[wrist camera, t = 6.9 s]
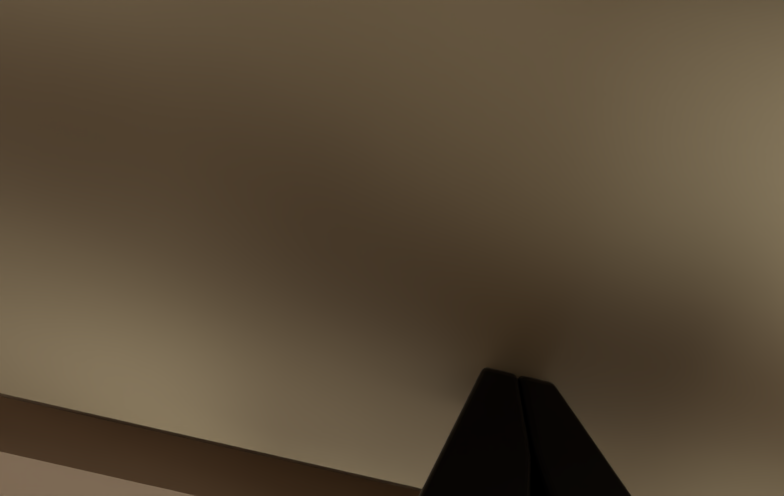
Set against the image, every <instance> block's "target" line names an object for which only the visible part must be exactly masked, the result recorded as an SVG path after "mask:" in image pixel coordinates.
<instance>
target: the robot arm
mask: <svg viewBox="0 0 784 496" xmlns="http://www.w3.org/2000/svg"><path fill="white" fill-rule="evenodd" d="M419 496H631V494H630V493H629V491H628V490H627V489H626V487H625V486H624V484H623V483H622V481H621V480H620V478H619V477H618V476H617V474H616V473H615V471H614V470H613V468H612V467H611V465H610V464H609V463H608V461H607V460H606V458H605V457H604V455H603V454H602V452H601V451H600V450H599V448H598V447H597V445H596V444H595V442H594V441H593V439H592V438H591V437H590V435H589V434H588V432H587V431H586V429H585V428H584V426H583V425H582V424H581V422H580V421H579V419H578V418H577V416H576V415H575V413H574V412H573V411H572V409H571V408H570V406H569V405H568V403H567V402H566V400H565V399H564V397H563V396H562V395H561V393H560V392H559V390H558V389H557V387H556V386H555V385H554V384H552V383H551V382H548V381H545V380H540V379H536V378H532V377H527V376H521V377H518V378H517V377H516V376H515V375H514V374H513V373H510V372H506V371H501V370H497V369H493V368H488V367H486V368H483V369H482V370H481V372H480V374H479V376H478V378H477V380H476V382H475V384H474V386H473V388H472V390H471V392H470V394H469V396H468V398H467V400H466V402H465V404H464V406H463V408H462V410H461V412H460V414H459V416H458V418H457V420H456V422H455V424H454V426H453V428H452V430H451V432H450V434H449V436H448V438H447V440H446V442H445V444H444V446H443V448H442V450H441V452H440V454H439V456H438V458H437V460H436V462H435V464H434V466H433V468H432V470H431V472H430V474H429V476H428V478H427V480H426V482H425V484H424V486H423V488H422V490H421V492H420V494H419Z"/></svg>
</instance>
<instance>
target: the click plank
mask: <svg viewBox="0 0 784 496" xmlns="http://www.w3.org/2000/svg"><path fill="white" fill-rule="evenodd" d="M486 367H488V368H493V369H497V370H501V371H506V372H510V373H513V374H514V375H515V376H516V377H517V378H518V377H521V376H527V377H532V378H536V379H540V380H545V381H548V382H551V383H552V384H554V385H555V386H556V387H557V389H558V390H559V392H560V393H561V395H562V396H563V397H564V399H565V400H566V402H567V403H568V405H569V406H570V408H571V409H572V411H573V412H574V413H575V415H576V416H577V418H578V419H579V421H580V422H581V424H582V425H583V426H584V428H585V429H586V431H587V432H588V434H589V435H590V437H591V438H592V439H593V441H594V442H595V444H596V445H597V447H598V448H599V450H600V451H601V452H602V454H603V455H604V457H605V458H606V460H607V461H608V463H609V464H610V465H611V467H612V468H613V470H614V471H615V473H616V474H617V476H618V477H619V478H620V480H621V481H622V483H623V484H624V486H625V487H626V489H627V490H628V491H629V493H630V494H631V496H784V0H0V393H2V394H6V395H11V396H15V397H20V398H24V399H28V400H33V401H37V402H42V403H46V404H51V405H55V406H59V407H64V408H68V409H73V410H77V411H81V412H86V413H90V414H95V415H99V416H104V417H108V418H112V419H117V420H121V421H126V422H130V423H134V424H139V425H143V426H148V427H152V428H156V429H161V430H165V431H170V432H174V433H179V434H183V435H187V436H192V437H196V438H201V439H205V440H209V441H214V442H218V443H223V444H227V445H232V446H236V447H240V448H245V449H249V450H254V451H258V452H262V453H267V454H271V455H276V456H280V457H284V458H289V459H293V460H298V461H302V462H307V463H311V464H315V465H320V466H324V467H329V468H333V469H337V470H342V471H346V472H351V473H355V474H360V475H364V476H368V477H373V478H377V479H382V480H386V481H390V482H395V483H399V484H404V485H408V486H412V487H417V488H421V489H422V488H423V486H424V484H425V482H426V480H427V478H428V476H429V474H430V472H431V470H432V468H433V466H434V464H435V462H436V460H437V458H438V456H439V454H440V452H441V450H442V448H443V446H444V444H445V442H446V440H447V438H448V436H449V434H450V432H451V430H452V428H453V426H454V424H455V422H456V420H457V418H458V416H459V414H460V412H461V410H462V408H463V406H464V404H465V402H466V400H467V398H468V396H469V394H470V392H471V390H472V388H473V386H474V384H475V382H476V380H477V378H478V376H479V374H480V372H481V370H482V369H483V368H486Z"/></svg>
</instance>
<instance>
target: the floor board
mask: <svg viewBox="0 0 784 496" xmlns="http://www.w3.org/2000/svg"><path fill="white" fill-rule="evenodd" d="M421 490H422V489H421V488H417V487H412V486H408V485H404V484H399V483H395V482H390V481H386V480H382V479H377V478H373V477H368V476H364V475H360V474H355V473H351V472H346V471H342V470H337V469H333V468H329V467H324V466H320V465H315V464H311V463H307V462H302V461H298V460H293V459H289V458H284V457H280V456H276V455H271V454H267V453H262V452H258V451H254V450H249V449H245V448H240V447H236V446H232V445H227V444H223V443H218V442H214V441H209V440H205V439H201V438H196V437H192V436H187V435H183V434H179V433H174V432H170V431H165V430H161V429H156V428H152V427H148V426H143V425H139V424H134V423H130V422H126V421H121V420H117V419H112V418H108V417H104V416H99V415H95V414H90V413H86V412H81V411H77V410H73V409H68V408H64V407H59V406H55V405H51V404H46V403H42V402H37V401H33V400H28V399H24V398H20V397H15V396H11V395H6V394H2V393H0V496H419V494H420V492H421Z"/></svg>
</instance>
